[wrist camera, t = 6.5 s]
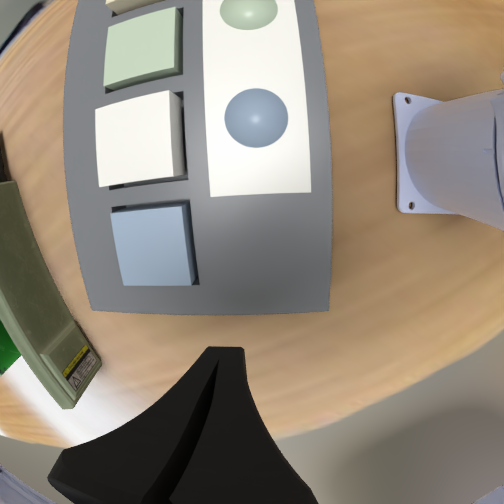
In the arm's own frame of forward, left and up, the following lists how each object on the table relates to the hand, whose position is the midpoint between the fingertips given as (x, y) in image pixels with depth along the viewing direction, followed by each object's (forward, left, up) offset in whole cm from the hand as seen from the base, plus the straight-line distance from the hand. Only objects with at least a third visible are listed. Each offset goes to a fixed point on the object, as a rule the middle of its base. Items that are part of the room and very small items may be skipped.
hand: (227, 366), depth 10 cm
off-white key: (+5, -9, -7) cm, 12 cm away
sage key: (+5, -15, -8) cm, 18 cm away
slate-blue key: (+5, -3, -8) cm, 10 cm away
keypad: (+3, -12, -9) cm, 15 cm away
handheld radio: (+19, -2, -9) cm, 21 cm away
